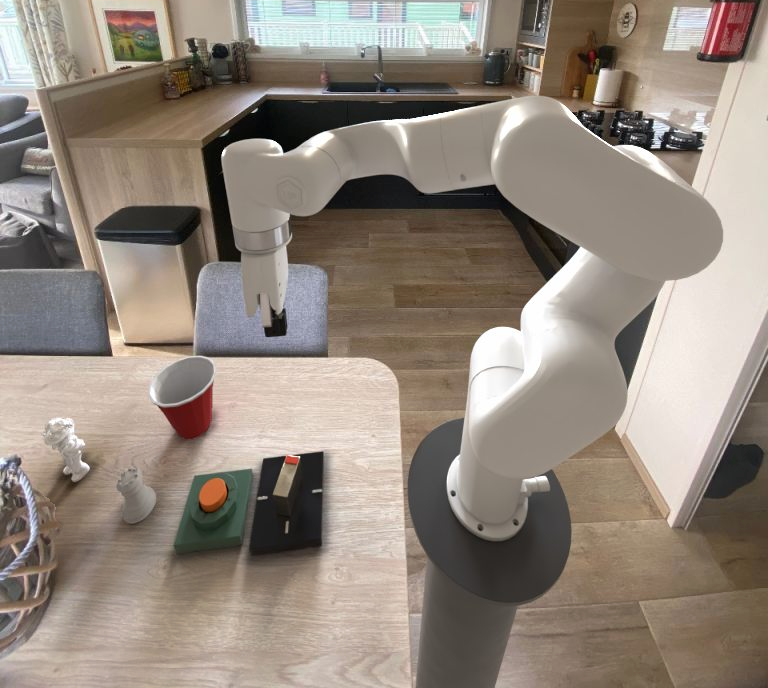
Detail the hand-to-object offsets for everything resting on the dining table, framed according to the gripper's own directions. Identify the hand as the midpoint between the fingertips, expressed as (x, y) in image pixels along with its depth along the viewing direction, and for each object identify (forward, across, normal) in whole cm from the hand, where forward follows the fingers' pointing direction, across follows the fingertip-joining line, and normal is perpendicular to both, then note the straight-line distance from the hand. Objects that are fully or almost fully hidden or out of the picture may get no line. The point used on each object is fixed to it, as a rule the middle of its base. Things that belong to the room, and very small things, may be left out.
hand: (276, 332), depth 60 cm
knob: (+23, +10, +1) cm, 25 cm away
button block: (+25, +10, -10) cm, 29 cm away
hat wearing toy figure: (+25, +1, -35) cm, 43 cm away
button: (+22, +10, -10) cm, 26 cm away
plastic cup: (+25, -5, -18) cm, 31 cm away
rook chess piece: (+25, +8, -22) cm, 34 cm away
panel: (+25, +10, +1) cm, 27 cm away
